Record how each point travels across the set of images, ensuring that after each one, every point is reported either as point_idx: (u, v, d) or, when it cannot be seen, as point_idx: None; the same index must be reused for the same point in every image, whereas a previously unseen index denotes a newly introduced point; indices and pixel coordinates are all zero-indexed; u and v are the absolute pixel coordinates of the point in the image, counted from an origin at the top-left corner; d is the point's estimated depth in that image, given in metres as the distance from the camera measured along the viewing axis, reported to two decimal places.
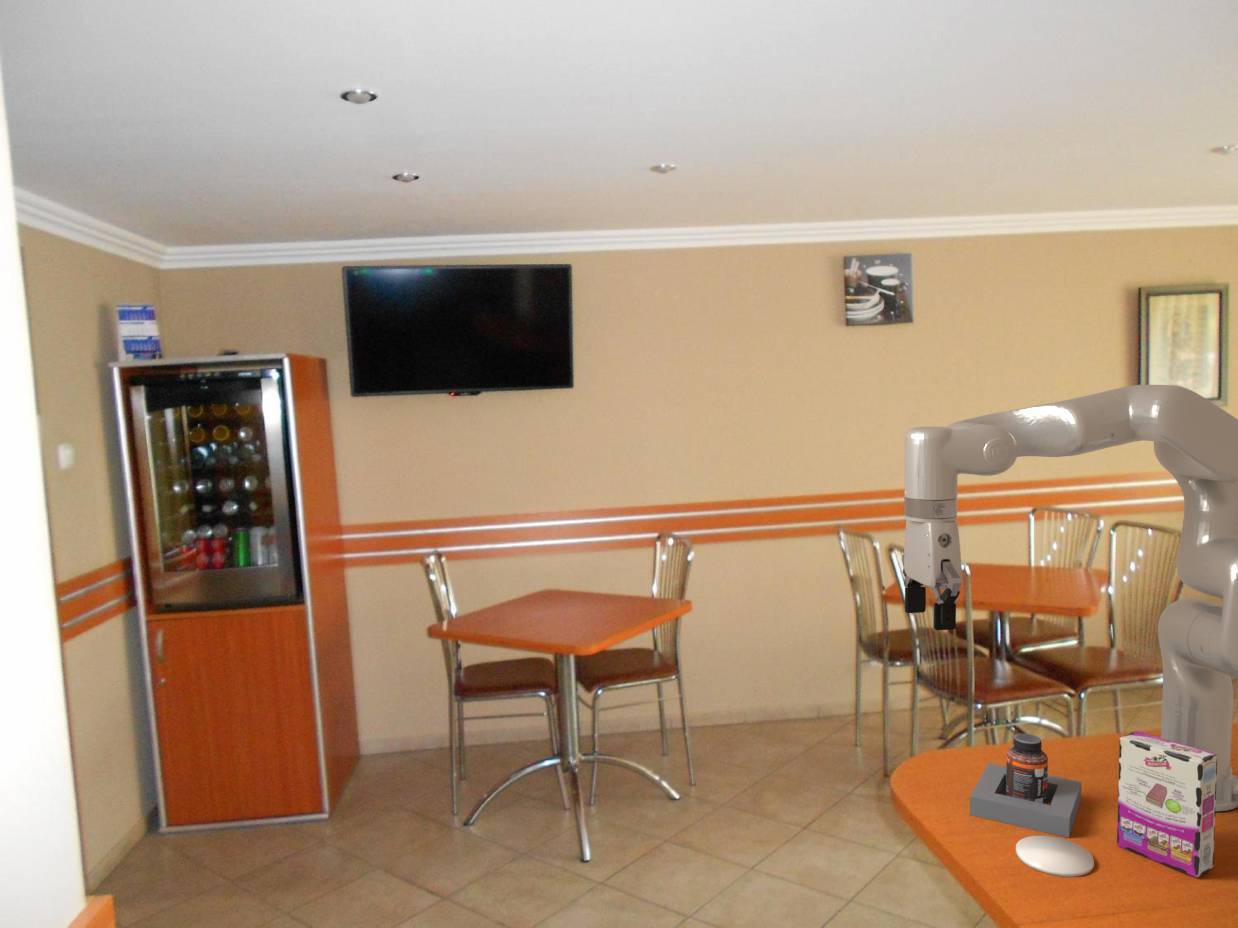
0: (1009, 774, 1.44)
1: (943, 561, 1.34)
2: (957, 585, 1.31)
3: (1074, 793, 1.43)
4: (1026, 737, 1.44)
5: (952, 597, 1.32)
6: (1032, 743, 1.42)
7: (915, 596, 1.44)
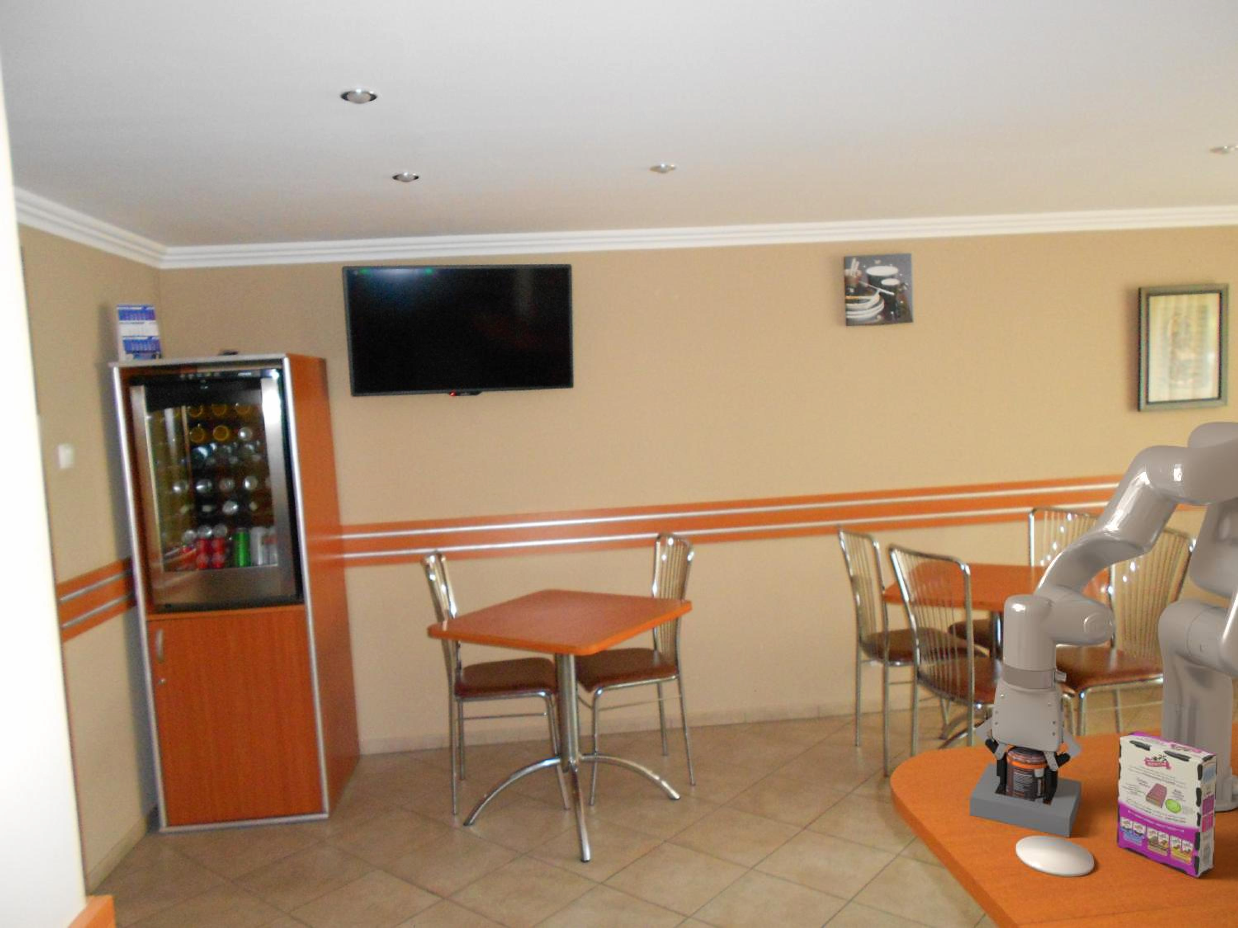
0: (1009, 774, 1.44)
1: (1062, 728, 1.41)
2: None
3: (1074, 793, 1.43)
4: None
5: None
6: None
7: None
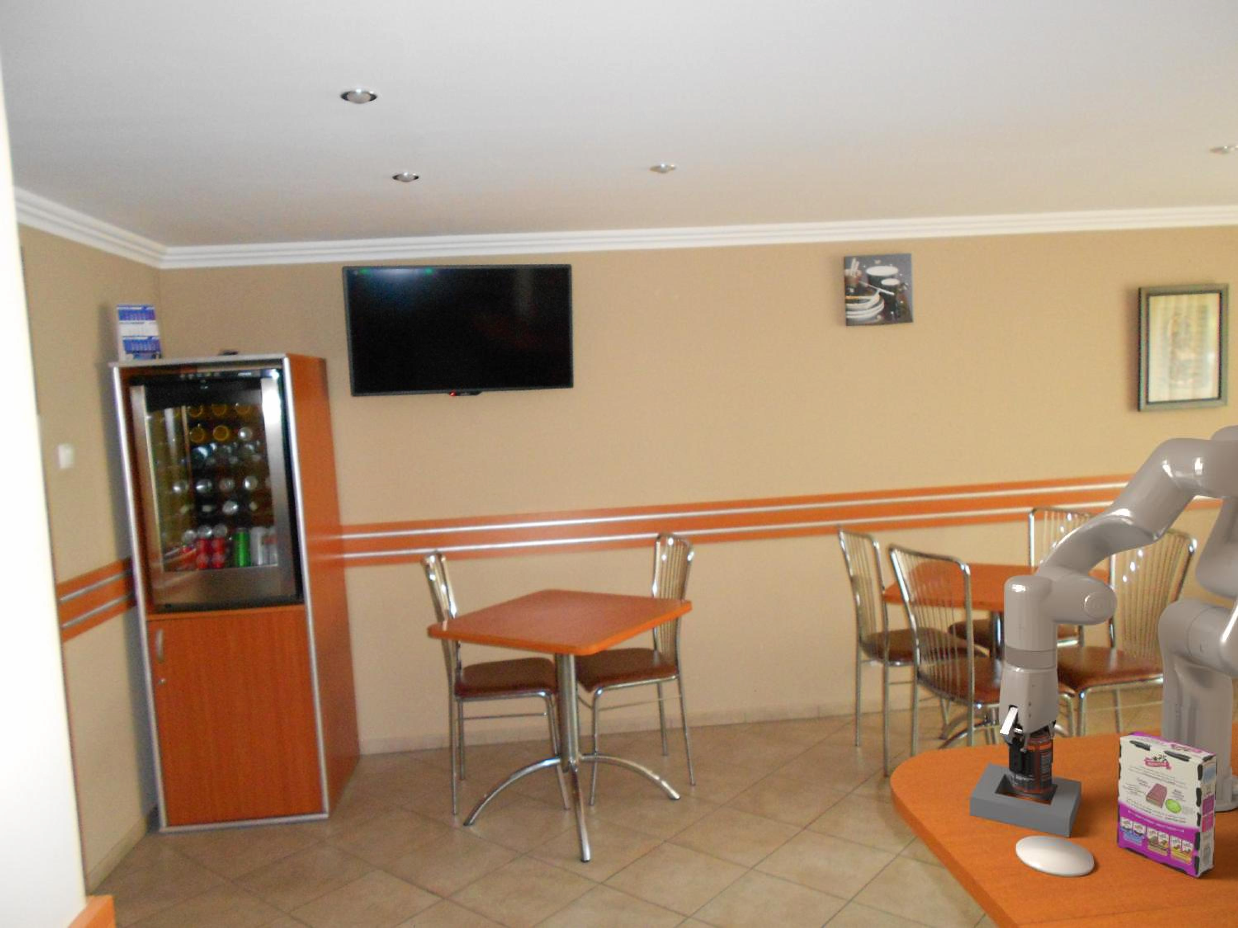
0: (1035, 761, 1.42)
1: None
2: None
3: (1074, 793, 1.43)
4: None
5: None
6: None
7: None
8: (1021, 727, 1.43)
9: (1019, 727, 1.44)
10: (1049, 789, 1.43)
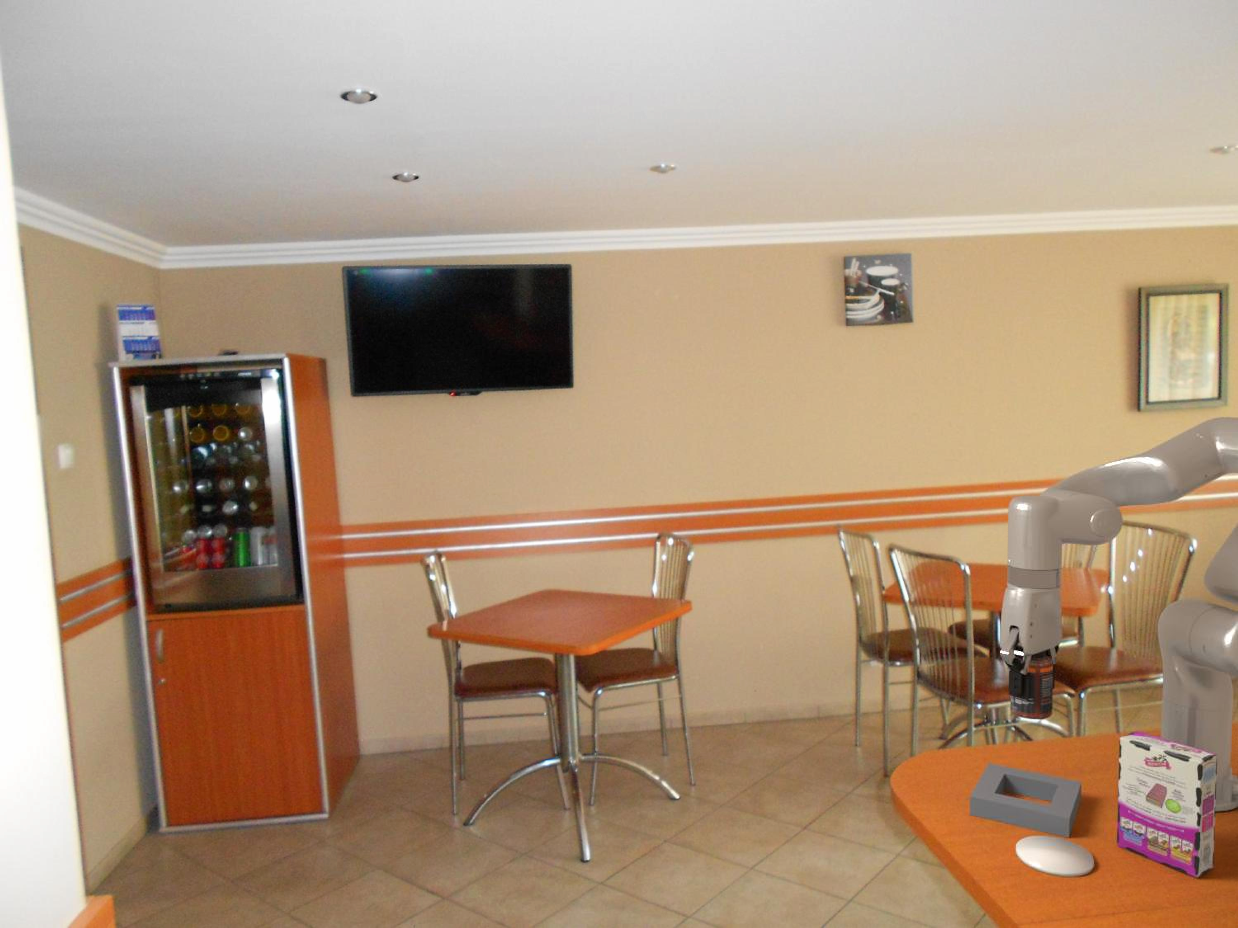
0: (1036, 684, 1.39)
1: None
2: None
3: (1074, 793, 1.43)
4: None
5: None
6: None
7: None
8: (1022, 650, 1.40)
9: (1020, 650, 1.41)
10: (1049, 714, 1.40)
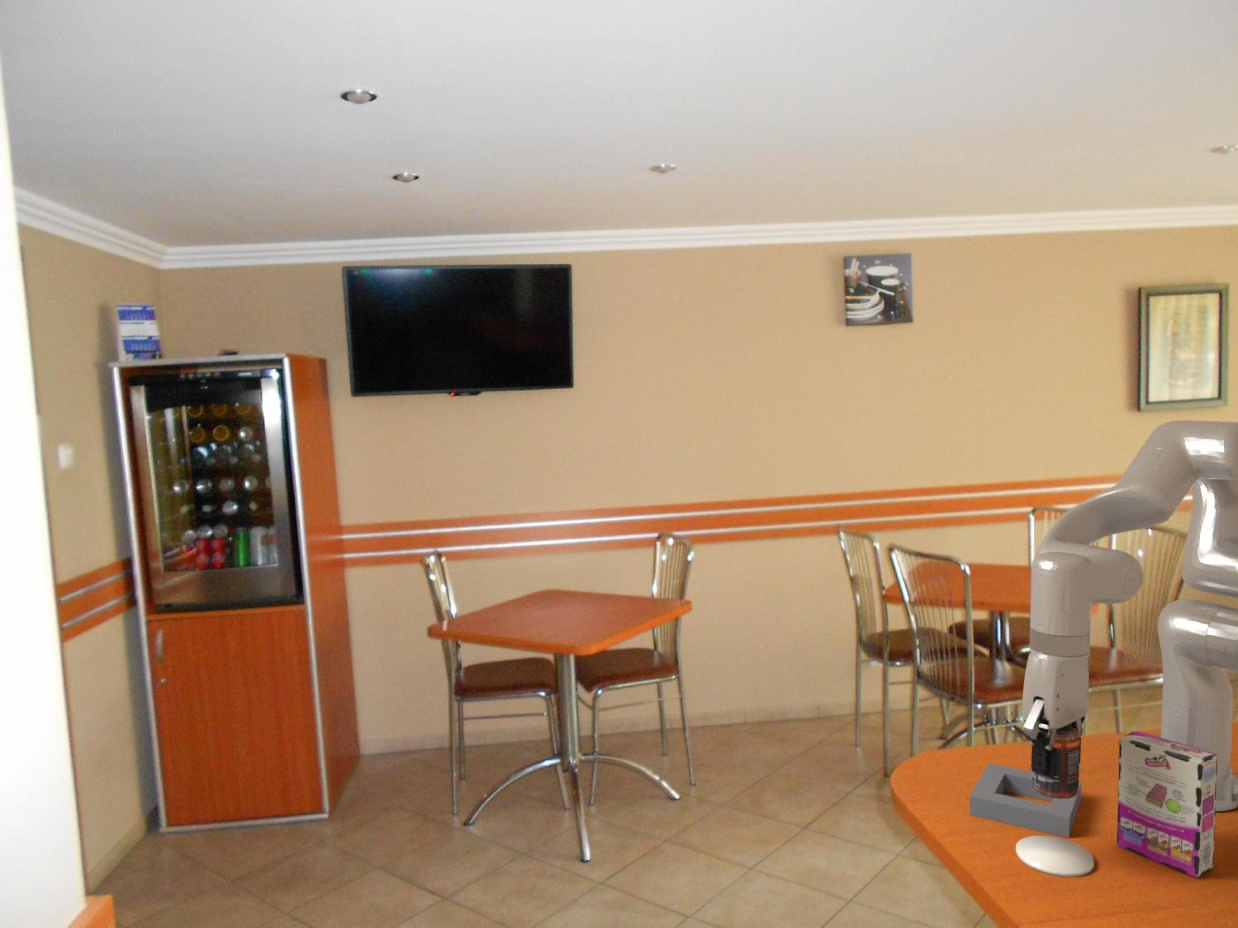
0: (1061, 760, 1.26)
1: None
2: None
3: None
4: None
5: None
6: None
7: None
8: (1046, 722, 1.27)
9: (1043, 722, 1.28)
10: (1075, 793, 1.27)
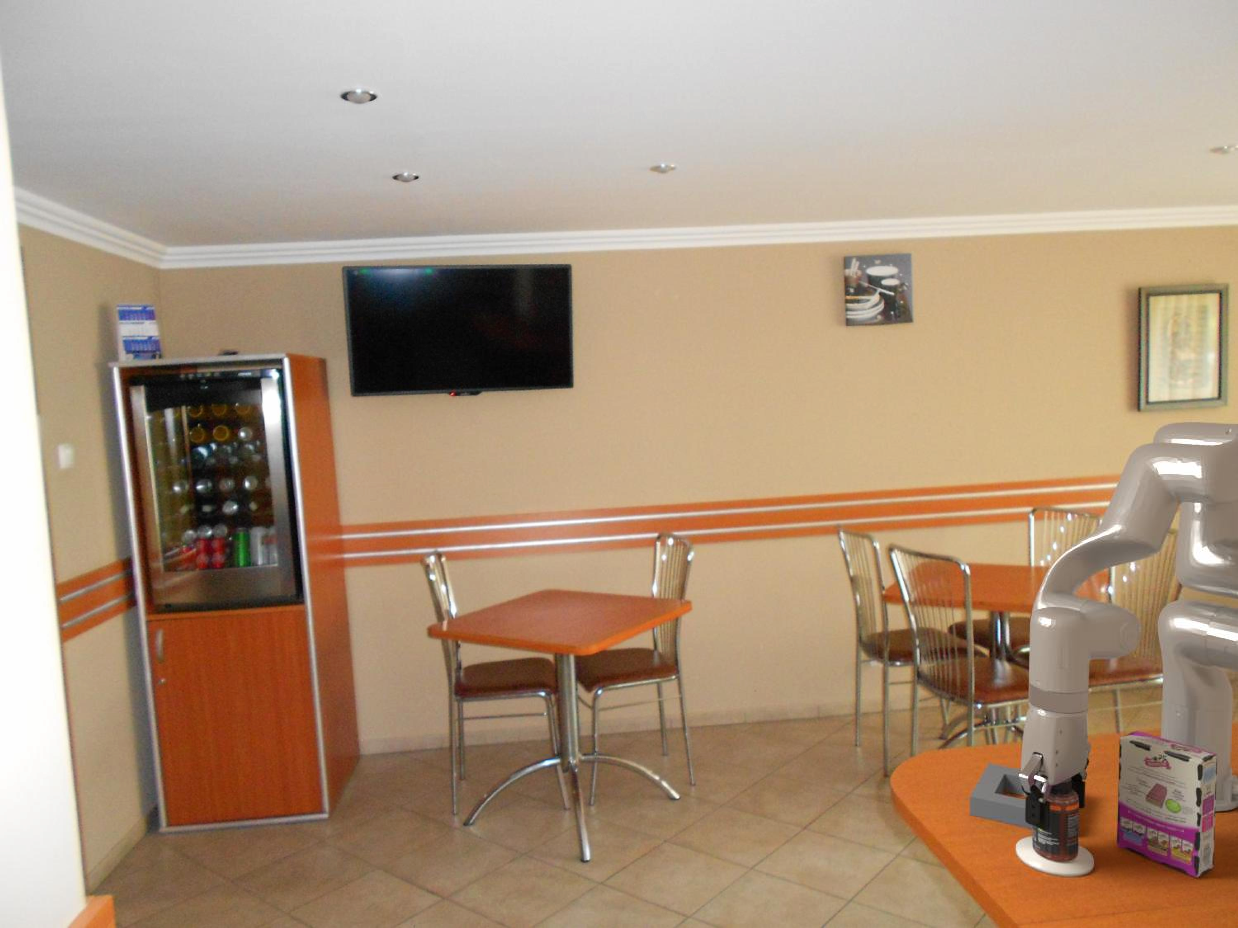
0: (1061, 823, 1.27)
1: None
2: None
3: None
4: None
5: None
6: None
7: None
8: None
9: (1043, 784, 1.29)
10: (1075, 855, 1.28)
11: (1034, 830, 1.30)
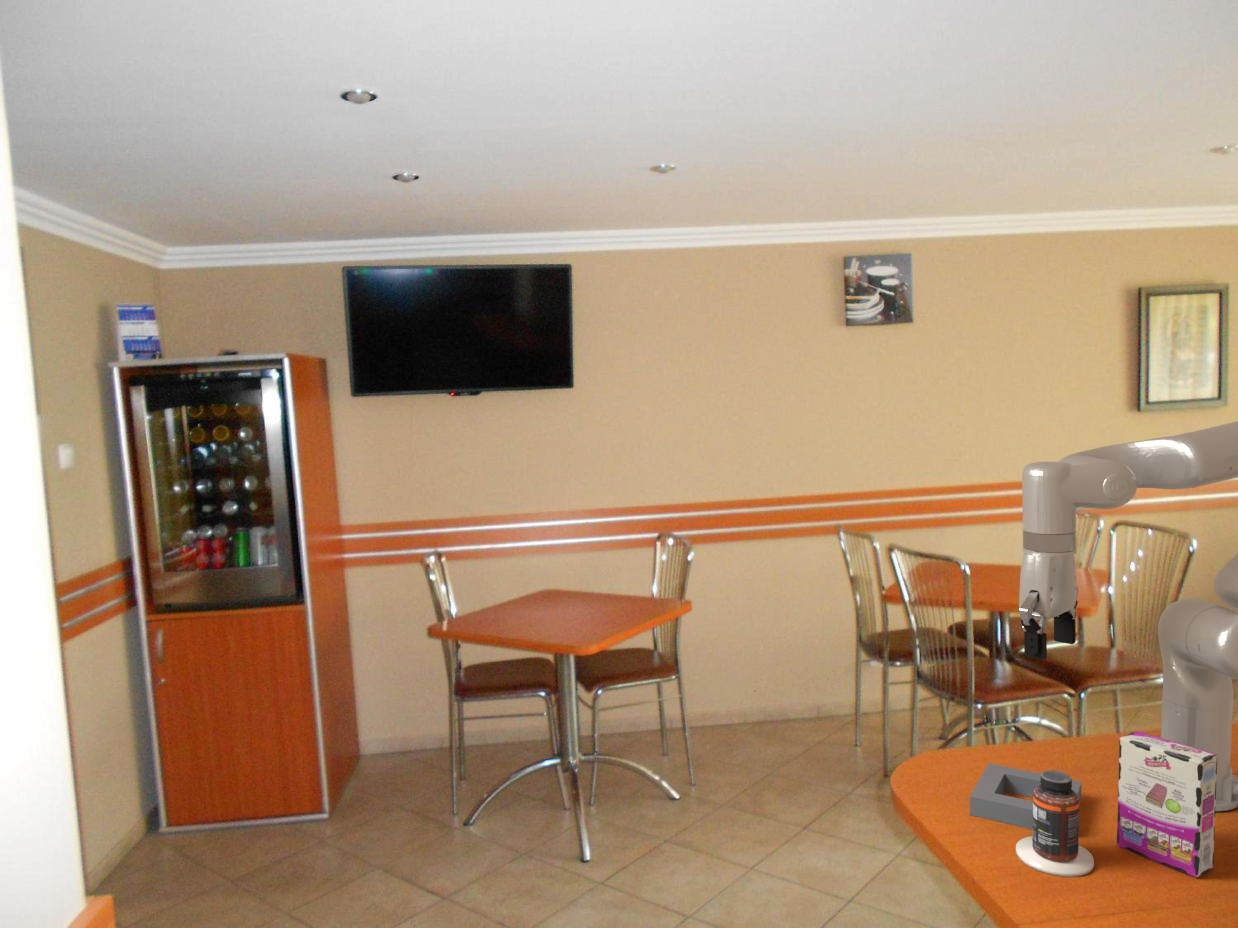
0: (1061, 824, 1.27)
1: None
2: None
3: None
4: (1053, 775, 1.29)
5: None
6: (1071, 778, 1.29)
7: None
8: (1046, 785, 1.29)
9: (1043, 785, 1.29)
10: (1075, 855, 1.28)
11: (1034, 830, 1.30)
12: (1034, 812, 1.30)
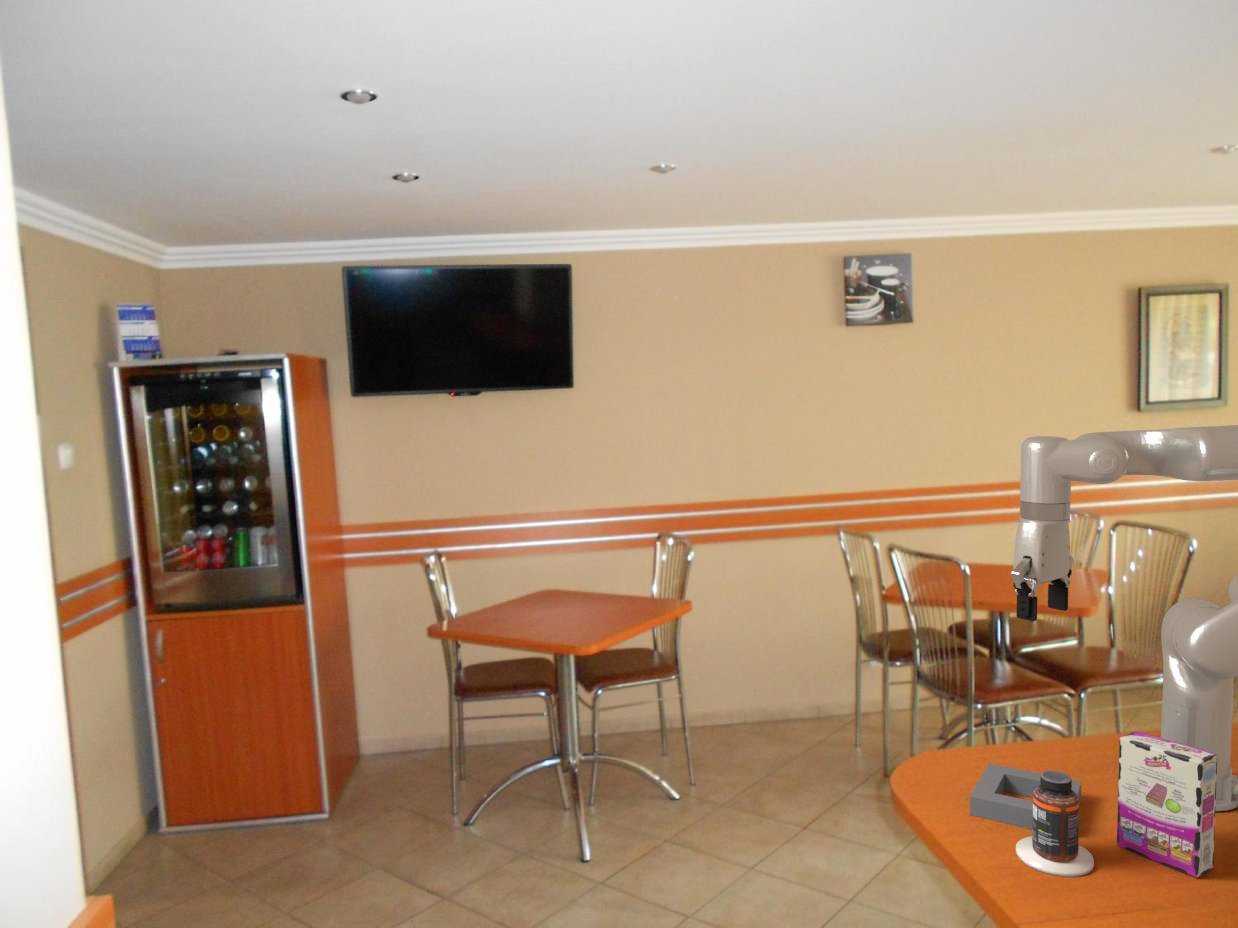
0: (1061, 824, 1.27)
1: None
2: None
3: None
4: (1053, 776, 1.29)
5: None
6: None
7: None
8: (1046, 785, 1.28)
9: (1043, 785, 1.29)
10: (1075, 855, 1.28)
11: (1034, 831, 1.30)
12: (1034, 812, 1.30)
